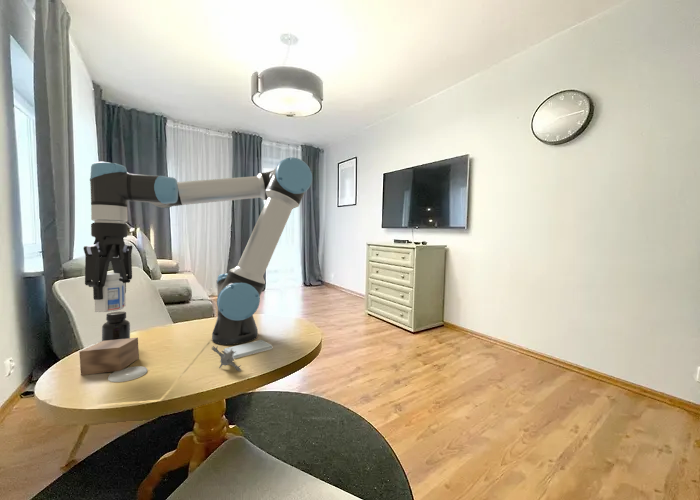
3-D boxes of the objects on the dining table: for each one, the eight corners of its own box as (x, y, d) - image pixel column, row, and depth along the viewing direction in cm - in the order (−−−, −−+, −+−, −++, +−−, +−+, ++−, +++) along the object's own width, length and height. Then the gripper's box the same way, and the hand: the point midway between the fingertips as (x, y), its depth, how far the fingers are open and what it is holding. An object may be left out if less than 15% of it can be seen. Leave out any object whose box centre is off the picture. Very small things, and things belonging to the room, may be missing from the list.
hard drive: (260, 339, 101) (223, 347, 93) (272, 345, 95) (233, 355, 86) (260, 344, 101) (223, 353, 93) (272, 350, 95) (233, 360, 87)
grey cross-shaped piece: (249, 360, 86) (248, 361, 78) (234, 379, 83) (231, 381, 75) (223, 339, 86) (219, 337, 78) (207, 356, 83) (201, 356, 75)
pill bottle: (108, 307, 82) (108, 272, 82) (128, 307, 82) (128, 272, 82) (92, 312, 77) (91, 274, 76) (113, 312, 77) (113, 274, 76)
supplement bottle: (114, 356, 87) (114, 316, 87) (96, 354, 89) (95, 315, 88) (135, 348, 94) (135, 311, 94) (118, 346, 95) (117, 309, 95)
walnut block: (138, 358, 85) (137, 337, 85) (120, 370, 76) (119, 347, 76) (103, 362, 83) (102, 340, 83) (80, 375, 75) (79, 351, 74)
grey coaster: (154, 369, 79) (154, 366, 79) (132, 383, 71) (132, 380, 71) (124, 369, 79) (124, 366, 79) (99, 383, 71) (99, 380, 71)
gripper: (121, 224, 88) (122, 301, 89) (62, 219, 69) (63, 317, 70) (147, 224, 88) (147, 302, 89) (94, 220, 70) (95, 318, 70)
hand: (110, 308), depth 79 cm, fingers closed on pill bottle, 5 cm apart
